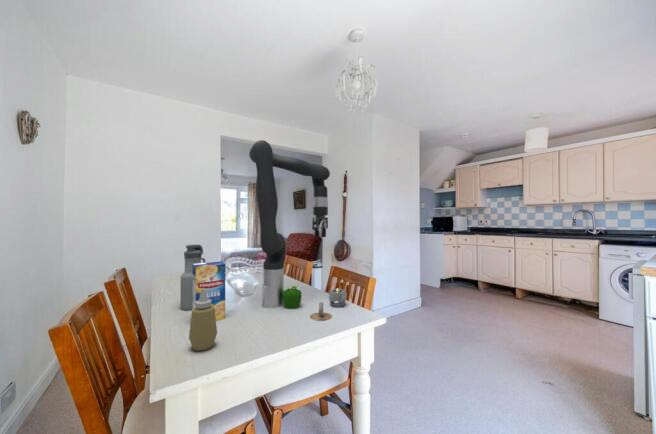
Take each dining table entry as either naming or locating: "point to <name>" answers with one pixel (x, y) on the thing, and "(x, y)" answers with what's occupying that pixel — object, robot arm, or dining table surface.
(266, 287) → the robot arm
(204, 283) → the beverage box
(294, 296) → the bell pepper
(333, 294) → the grey small box
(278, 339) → the dining table surface
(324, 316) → the stand
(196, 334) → the squeeze bottle
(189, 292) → the water bottle
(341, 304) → the hub
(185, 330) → the dining table surface
